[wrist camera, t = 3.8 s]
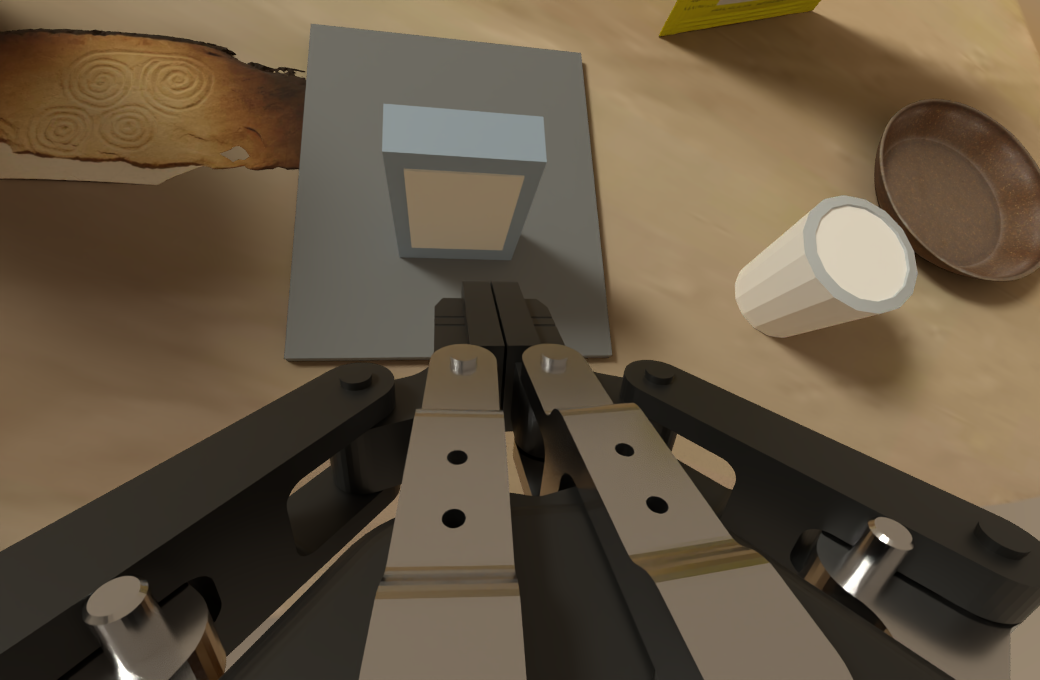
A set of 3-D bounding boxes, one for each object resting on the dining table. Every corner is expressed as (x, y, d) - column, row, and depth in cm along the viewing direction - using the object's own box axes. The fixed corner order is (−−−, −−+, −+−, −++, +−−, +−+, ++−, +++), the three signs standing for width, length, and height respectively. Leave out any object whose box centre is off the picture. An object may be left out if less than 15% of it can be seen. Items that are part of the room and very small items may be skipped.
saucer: (1014, 323, 35) (1059, 312, 32) (837, 245, 34) (870, 227, 32) (1018, 168, 40) (1058, 147, 37) (862, 95, 39) (893, 69, 36)
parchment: (-141, 176, 24) (-162, 166, 23) (-93, 21, 27) (-110, 6, 26) (363, 200, 29) (361, 193, 28) (367, 67, 31) (365, 56, 31)
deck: (399, 258, 27) (382, 153, 18) (400, 222, 28) (383, 103, 19) (511, 261, 28) (546, 164, 19) (509, 227, 29) (543, 116, 20)
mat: (287, 361, 25) (284, 358, 25) (313, 32, 31) (311, 23, 30) (608, 357, 28) (612, 355, 28) (578, 60, 34) (580, 52, 34)
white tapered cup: (814, 361, 31) (918, 331, 24) (718, 327, 30) (797, 287, 24) (823, 269, 33) (921, 219, 26) (734, 236, 32) (811, 176, 26)
